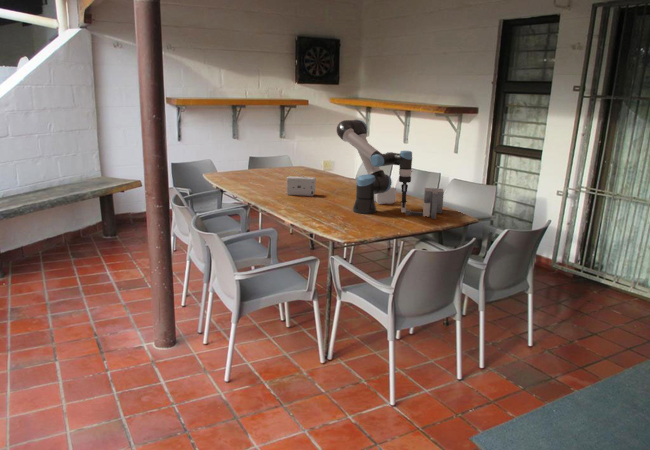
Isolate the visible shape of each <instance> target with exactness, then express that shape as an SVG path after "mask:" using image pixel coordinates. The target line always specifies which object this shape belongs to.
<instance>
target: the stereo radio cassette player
mask: <svg viewBox="0 0 650 450" xmlns="http://www.w3.org/2000/svg"><path fill="white" fill-rule="evenodd" d="M289 170H290V171H293V172H294V173H295V174H297V175H299V176H295V175H294V176H293V175H291V176H290V175H289V176H287V177H286V194H287V195H288V196H304V197H305V196H308V197H313V196H314V195H315V194H316V185H317V184H316V183H317V182H316V181H317V179H316V177H315V176H313V177H312V176H304V175H302V174H300V173H299V172H296V171H294V169H293V170H292V169H290V168H289Z"/></svg>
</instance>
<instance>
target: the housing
mask: <svg viewBox="0 0 650 450" xmlns="http://www.w3.org/2000/svg"><path fill="white" fill-rule="evenodd" d="M423 190H424V191H423V204H422V208H423V207H424V203H430V214H429V215H430V219H433V220H436V219H437V214H443V205H444V195H445V194H444V193H445V191H444V189H443V188H437V187H436V188H434V187H424V189H423Z"/></svg>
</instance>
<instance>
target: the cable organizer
mask: <svg viewBox="0 0 650 450" xmlns="http://www.w3.org/2000/svg"><path fill="white" fill-rule="evenodd" d="M396 195H397V188H396V187H393V186H391V188H390V189H389V190H388V191H387V192H384V193H378V194H374V202H375V203H377V204H379V205H385V204H388V205H391V204H394V203H396V198H397V196H396Z"/></svg>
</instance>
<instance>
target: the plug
mask: <svg viewBox="0 0 650 450" xmlns="http://www.w3.org/2000/svg"><path fill="white" fill-rule="evenodd" d="M422 210H423V211H411V209H408V208H406V211H405V214H404V215H405V216H418V217H425V216H427V217H430V215H431V214H430V203H424V207H423V206H422Z"/></svg>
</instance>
